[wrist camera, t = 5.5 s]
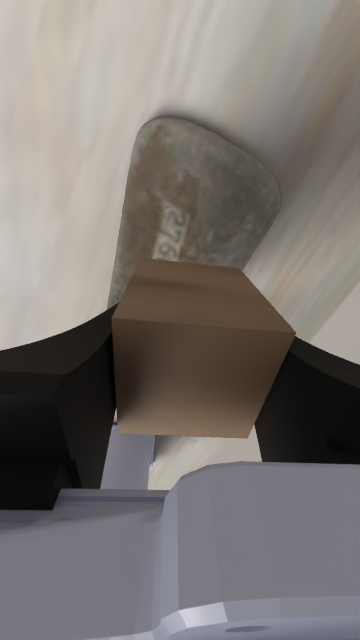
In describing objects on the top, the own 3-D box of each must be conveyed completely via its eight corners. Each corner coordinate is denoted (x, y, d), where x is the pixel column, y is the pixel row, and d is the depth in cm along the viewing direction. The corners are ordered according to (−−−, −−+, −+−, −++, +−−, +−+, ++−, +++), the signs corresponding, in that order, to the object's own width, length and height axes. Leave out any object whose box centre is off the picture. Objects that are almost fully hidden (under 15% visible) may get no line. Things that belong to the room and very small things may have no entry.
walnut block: (219, 345, 14) (247, 438, 8) (139, 339, 13) (117, 433, 8) (238, 268, 11) (296, 333, 6) (141, 257, 11) (111, 318, 6)
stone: (144, 94, 12) (305, 171, 13) (152, 118, 14) (286, 180, 15) (84, 356, 19) (189, 391, 20) (97, 340, 22) (189, 372, 23)
